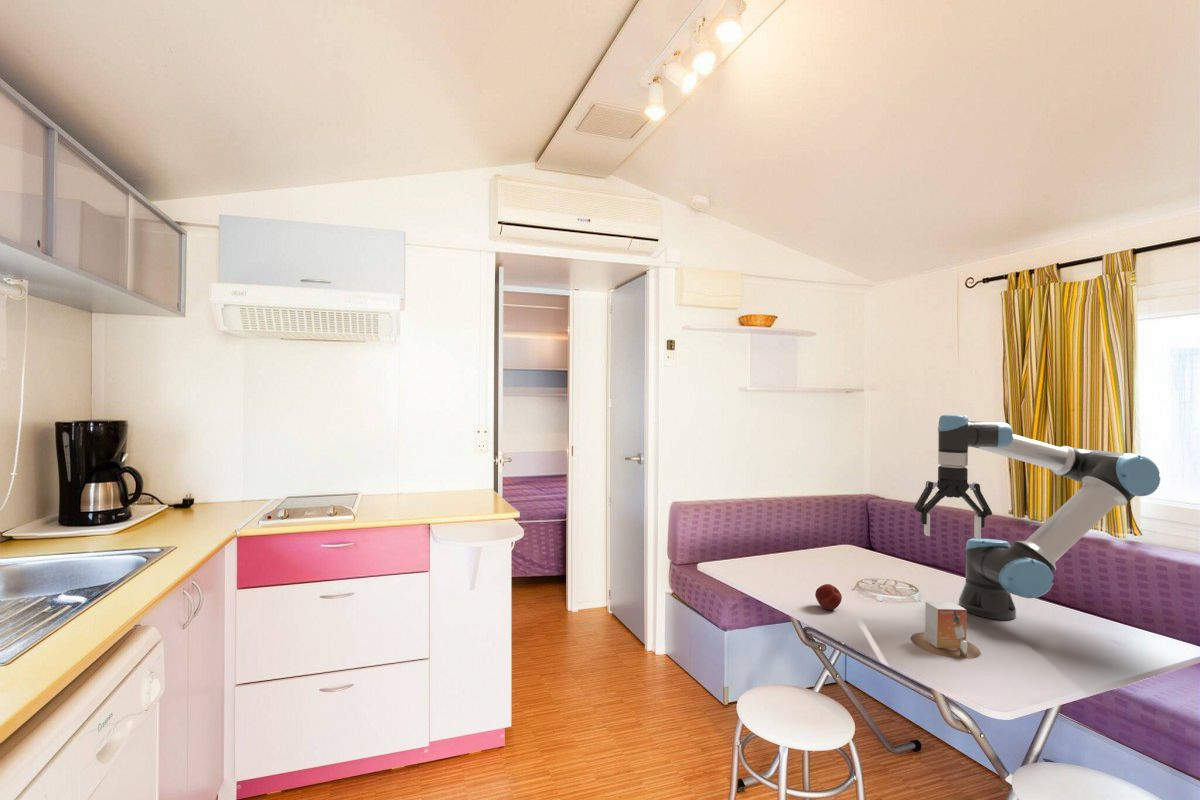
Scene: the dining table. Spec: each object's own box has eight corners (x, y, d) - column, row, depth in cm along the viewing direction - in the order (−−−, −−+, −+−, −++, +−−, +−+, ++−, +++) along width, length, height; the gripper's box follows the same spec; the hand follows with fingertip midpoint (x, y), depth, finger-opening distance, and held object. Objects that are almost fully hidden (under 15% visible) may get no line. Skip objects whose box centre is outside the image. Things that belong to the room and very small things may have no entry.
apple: (833, 615, 171) (833, 589, 171) (810, 607, 177) (810, 583, 177) (845, 610, 175) (845, 585, 175) (822, 602, 181) (822, 578, 182)
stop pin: (965, 655, 142) (965, 639, 142) (968, 658, 140) (968, 642, 140) (958, 654, 142) (958, 639, 142) (961, 657, 140) (961, 641, 140)
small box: (936, 648, 145) (937, 608, 145) (924, 639, 150) (924, 601, 150) (966, 649, 145) (967, 609, 145) (953, 640, 150) (953, 601, 150)
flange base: (966, 641, 153) (966, 635, 153) (992, 668, 138) (992, 662, 138) (903, 634, 157) (903, 629, 157) (921, 660, 142) (921, 653, 142)
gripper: (993, 466, 166) (993, 536, 166) (903, 463, 171) (902, 531, 171) (1006, 469, 158) (1005, 542, 158) (911, 466, 164) (910, 536, 164)
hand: (952, 536), depth 165 cm, fingers open, 13 cm apart
